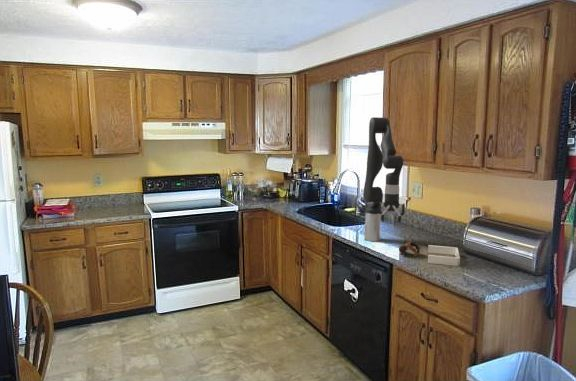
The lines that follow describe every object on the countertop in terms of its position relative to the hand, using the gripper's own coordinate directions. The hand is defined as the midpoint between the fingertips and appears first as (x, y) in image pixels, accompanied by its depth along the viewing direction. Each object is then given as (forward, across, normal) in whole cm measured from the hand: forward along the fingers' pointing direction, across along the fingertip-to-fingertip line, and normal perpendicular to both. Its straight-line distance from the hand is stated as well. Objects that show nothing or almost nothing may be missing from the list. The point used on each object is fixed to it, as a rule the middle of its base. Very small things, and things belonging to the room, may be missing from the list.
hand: (390, 222), depth 219 cm
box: (+18, -27, 0) cm, 32 cm away
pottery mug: (+18, -10, 0) cm, 21 cm away
